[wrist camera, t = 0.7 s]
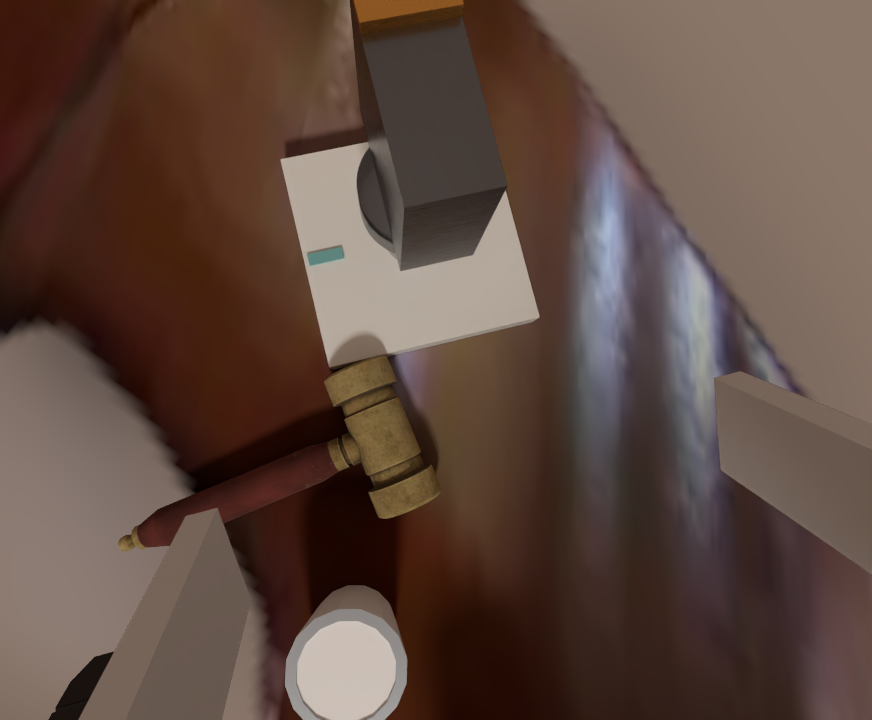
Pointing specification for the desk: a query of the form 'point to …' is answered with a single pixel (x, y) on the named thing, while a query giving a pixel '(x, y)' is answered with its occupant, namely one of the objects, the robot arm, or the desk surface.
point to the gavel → (322, 461)
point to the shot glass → (348, 659)
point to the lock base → (396, 271)
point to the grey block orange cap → (423, 132)
